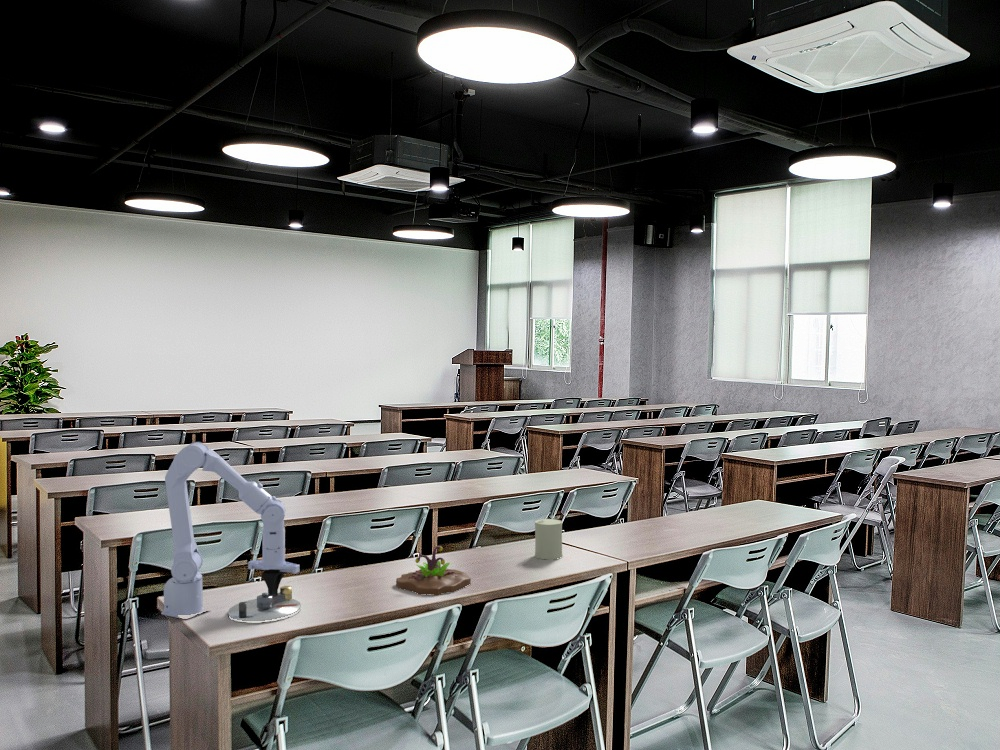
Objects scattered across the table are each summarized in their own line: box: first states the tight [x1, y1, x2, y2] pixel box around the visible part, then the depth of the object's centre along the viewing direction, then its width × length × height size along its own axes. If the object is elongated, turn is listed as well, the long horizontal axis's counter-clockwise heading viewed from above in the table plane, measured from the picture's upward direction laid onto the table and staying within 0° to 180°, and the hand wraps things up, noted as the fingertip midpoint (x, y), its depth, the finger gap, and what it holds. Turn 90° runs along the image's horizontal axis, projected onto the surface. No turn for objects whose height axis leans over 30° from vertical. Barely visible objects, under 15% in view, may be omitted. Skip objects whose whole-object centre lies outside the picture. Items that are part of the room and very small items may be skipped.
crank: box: [256, 585, 293, 609], centre depth 199 cm, size 10×4×3 cm, turn 146°
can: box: [534, 518, 564, 561], centre depth 251 cm, size 9×9×12 cm
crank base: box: [227, 589, 302, 621], centre depth 197 cm, size 18×18×5 cm
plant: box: [395, 545, 472, 596], centre depth 220 cm, size 20×20×11 cm
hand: (273, 597), depth 201 cm, fingers closed, pressing on crank
